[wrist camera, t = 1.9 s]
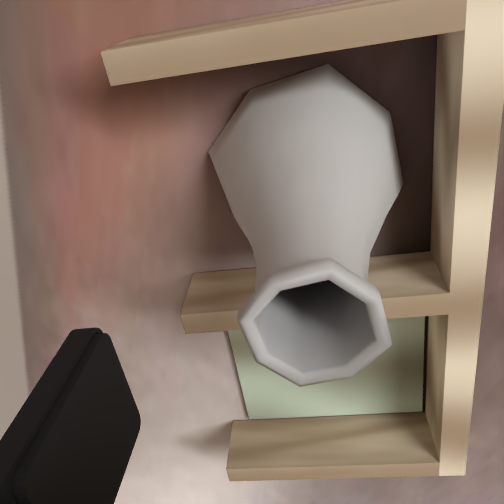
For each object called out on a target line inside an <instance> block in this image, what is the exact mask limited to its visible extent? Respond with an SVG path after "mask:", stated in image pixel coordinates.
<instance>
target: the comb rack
mask: <svg viewBox="0 0 504 504" xmlns="http://www.w3.org/2000/svg"><path fill="white" fill-rule="evenodd" d="M430 35H437V58H436V90H435V121H434V153H433V184H432V215H431V247H430V251H428V252H417V253H407V254H396V255H385V256H375V257H370V260H369V271H368V281H367V282H369V283H370V284H372V285H373V286H375V287H376V288H377V289H378V291H379V292H380V295H381V300H382V304H383V308H384V312H385V316H386V320H387V324H388V328H389V332H390V336H391V341H392V345H391V346H390V347H389V348H388V349H387V350H385V351H384V352H383V353H382V354H381V355H379V356H378V357H377V358H376V359H375V360H373V361H372V362H371V363H370V364H369V365H368V366H366V367H365V368H364V369H363V370H362V371H360V372H359V373H358V374H357V375H356V376H354V377H353V378H348V379H342V380H336V381H331V382H325V383H319V384H313V385H308V386H302V387H299V386H297V385H295V384H294V383H292V382H290V381H288V380H287V379H285V378H283V377H281V376H279V375H278V374H276V373H274V372H272V371H271V370H269V369H267V368H265V367H264V366H262V365H260V364H258V363H256V362H255V360H254V357H253V355H252V353H251V351H250V348H249V346H248V344H247V341H246V339H245V337H244V335H243V332H242V330H241V328H240V326H239V323H238V321H237V314H238V312H239V310H240V308H241V307H242V306H243V305H244V303H245V302H246V301H247V300H248V299H249V298H250V297H251V296H252V294H253V293H254V292H255V284H256V273H257V269H256V268H246V269H236V270H225V271H214V272H204V273H193V276H192V279H191V282H190V285H189V288H188V291H187V294H186V297H185V300H184V303H183V306H182V309H181V313H180V318H181V321H182V324H183V328H184V331H185V334H191V333H204V332H218V331H228V334H229V338H230V342H231V346H232V350H233V355H234V359H235V363H236V367H237V371H238V375H239V379H240V383H241V388H242V392H243V396H244V400H245V404H246V408H247V412H248V417H249V419H263V420H241V421H233V423H232V431H231V438H230V445H229V453H228V460H227V467H226V470H227V474H228V477H229V480H230V481H259V480H297V479H335V478H373V477H412V476H450V475H465V470H466V460H467V450H468V441H469V431H470V421H471V412H472V402H473V392H474V382H475V373H476V363H477V353H478V344H479V334H480V324H481V314H482V305H483V295H484V285H485V276H486V266H487V256H488V247H489V237H490V227H491V217H492V208H493V198H494V188H495V179H496V169H497V159H498V149H499V140H500V130H501V120H502V111H503V101H504V0H346V1H340V2H335V3H329V4H323V5H317V6H311V7H306V8H300V9H294V10H288V11H283V12H277V13H271V14H265V15H260V16H254V17H248V18H242V19H236V20H231V21H225V22H219V23H213V24H208V25H202V26H196V27H190V28H185V29H179V30H173V31H167V32H161V33H156V34H150V35H144V36H138V37H133V38H129V39H127V40H125V41H122V42H120V43H118V44H116V45H114V46H112V47H110V48H107V49H105V50H103V51H101V55H102V59H103V62H104V65H105V69H106V72H107V75H108V79H109V82H110V85H111V86H115V85H121V84H127V83H134V82H140V81H146V80H153V79H159V78H165V77H172V76H178V75H184V74H191V73H197V72H203V71H210V70H216V69H222V68H228V67H235V66H241V65H247V64H254V63H260V62H266V61H273V60H279V59H285V58H292V57H298V56H304V55H310V54H317V53H323V52H329V51H336V50H342V49H348V48H355V47H361V46H367V45H374V44H380V43H386V42H393V41H399V40H405V39H411V38H418V37H424V36H430ZM425 316H428V341H427V372H426V404H425V412H422V403H423V366H424V329H425ZM400 412H417V413H400ZM378 413H395V414H378ZM356 414H373V415H356ZM334 415H351V416H334ZM312 416H329V417H312ZM291 417H307V418H291ZM269 418H285V419H269Z"/></svg>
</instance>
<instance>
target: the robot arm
mask: <svg viewBox="0 0 504 504" xmlns="http://www.w3.org/2000/svg"><path fill="white" fill-rule="evenodd" d="M140 424H141V420H140V414H139V411H138V409H137V406H136V403H135V401H134V398H133V396H132V393H131V390H130V388H129V385H128V383H127V380H126V377H125V375H124V372H123V369H122V367H121V364H120V362H119V359H118V356H117V354H116V351H115V349H114V346H113V343H112V341H111V338H110V336H109V335H108V334H106V333H103V332H102V330H101V329H99V328H85V329H75V330H72V331H71V332H70V333H69V335H68V337H67V338H66V340H65V341H64V343H63V344H62V346H61V347H60V349H59V350H58V352H57V354H56V355H55V357H54V358H53V360H52V361H51V363H50V364H49V366H48V367H47V369H46V371H45V372H44V374H43V375H42V377H41V378H40V380H39V381H38V383H37V384H36V386H35V388H34V389H33V391H32V392H31V394H30V395H29V397H28V398H27V400H26V401H25V403H24V405H23V406H22V408H21V409H20V411H19V412H18V414H17V416H16V417H15V419H14V420H13V422H12V423H11V425H10V426H9V428H8V429H7V431H6V432H5V434H4V436H3V437H2V439H1V440H0V504H114V502H115V499H116V496H117V493H118V490H119V487H120V485H121V482H122V479H123V476H124V473H125V470H126V468H127V465H128V462H129V459H130V456H131V453H132V450H133V448H134V445H135V442H136V439H137V436H138V433H139V430H140Z"/></svg>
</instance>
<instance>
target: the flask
mask: <svg viewBox="0 0 504 504" xmlns="http://www.w3.org/2000/svg"><path fill="white" fill-rule="evenodd" d="M208 152H209V155H210V157H211V160H212V162H213V165H214V167H215V170H216V173H217V175H218V178H219V180H220V183H221V185H222V188H223V190H224V193H225V195H226V198H227V201H228V203H229V206H230V208H231V211H232V213H233V216H234V218H235V220H236V221H237V223H238V225H239V226H240V228H241V229H242V231H243V233H244V234H245V236H246V237H247V239H248V240H249V242H250V244H251V246H252V248H253V253H254V258H255V263H256V269H257V273H256V284H255V292H254V293H253V294H252V296H251V297H250V298H249V299H248V300H247V301H246V302H245V303H244V305H243V306H242V307H241V308H240V310H239V312H238V314H237V321H238V323H239V326H240V328H241V330H242V332H243V335H244V337H245V339H246V341H247V344H248V346H249V348H250V351H251V353H252V355H253V357H254V360H255V362H256V363H258V364H260V365H262V366H264V367H265V368H267V369H269V370H271V371H272V372H274V373H276V374H278V375H279V376H281V377H283V378H285V379H287V380H288V381H290V382H292V383H294V384H295V385H297V386H299V387H302V386H308V385H313V384H319V383H325V382H331V381H336V380H342V379H348V378H353V377H354V376H356V375H357V374H358V373H359V372H360V371H362V370H363V369H364V368H365V367H366V366H368V365H369V364H370V363H371V362H372V361H373V360H375V359H376V358H377V357H378V356H379V355H381V354H382V353H383V352H384V351H385V350H387V349H388V348H389V347H390V346H391V345H392V341H391V336H390V332H389V328H388V324H387V320H386V316H385V312H384V308H383V304H382V300H381V295H380V292H379V291H378V289H377V288H376V287H375V286H373V285H372V284H370V283H369V282H367V281H368V271H369V260H370V252H371V250H372V248H373V245H374V243H375V241H376V239H377V236H378V234H379V232H380V229H381V227H382V225H383V223H384V220H385V218H386V216H387V214H388V212H389V210H390V209H391V207H392V205H393V203H394V201H395V199H396V198H397V196H398V194H399V192H400V190H401V188H402V186H403V177H402V172H401V167H400V161H399V156H398V151H397V146H396V140H395V135H394V130H393V124H392V119H391V114H390V112H389V111H388V110H387V109H385V108H384V107H383V106H381V105H380V104H379V103H378V102H376V101H375V100H374V99H372V98H371V97H370V96H369V95H367V94H366V93H365V92H364V91H362V90H361V89H360V88H358V87H357V86H356V85H355V84H353V83H352V82H351V81H349V80H348V79H347V78H346V77H344V76H343V75H342V74H340V73H339V72H338V71H337V70H335V69H334V68H333V67H332V66H330V65H329V64H326V65H323V66H320V67H317V68H314V69H311V70H308V71H304V72H301V73H298V74H295V75H292V76H289V77H286V78H283V79H280V80H277V81H274V82H271V83H268V84H265V85H262V86H259V87H256V88H253V89H250V90H249V92H248V93H247V95H246V96H245V98H244V99H243V101H242V102H241V104H240V105H239V106H238V108H237V109H236V111H235V112H234V114H233V115H232V117H231V118H230V120H229V121H228V123H227V124H226V126H225V127H224V129H223V130H222V132H221V133H220V135H219V136H218V138H217V139H216V141H215V142H214V144H213V145H212V147H211V148H210V150H209V151H208Z"/></svg>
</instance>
